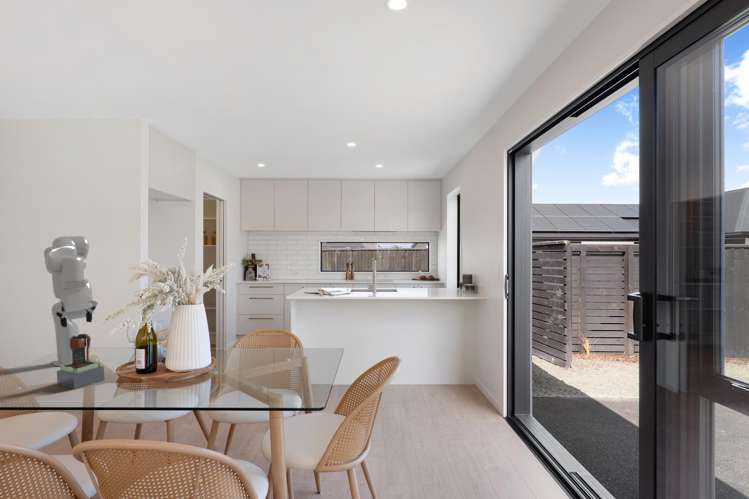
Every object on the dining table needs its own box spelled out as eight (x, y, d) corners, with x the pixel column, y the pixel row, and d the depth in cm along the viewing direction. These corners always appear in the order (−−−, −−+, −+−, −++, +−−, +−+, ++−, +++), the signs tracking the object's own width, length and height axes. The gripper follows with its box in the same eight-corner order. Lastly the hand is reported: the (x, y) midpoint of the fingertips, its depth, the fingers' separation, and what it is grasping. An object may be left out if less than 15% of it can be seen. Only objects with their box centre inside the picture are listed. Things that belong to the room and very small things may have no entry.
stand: (57, 384, 181) (56, 366, 181) (87, 375, 192) (86, 358, 191) (74, 389, 174) (72, 370, 174) (104, 380, 185) (103, 362, 185)
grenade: (88, 369, 181) (87, 335, 181) (68, 371, 179) (66, 336, 179) (93, 365, 187) (92, 332, 187) (73, 367, 185) (72, 333, 184)
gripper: (91, 282, 191) (93, 319, 192) (46, 287, 176) (49, 328, 177) (100, 282, 187) (102, 320, 188) (55, 288, 172) (58, 329, 173)
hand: (77, 324), depth 182 cm, fingers open, 9 cm apart
